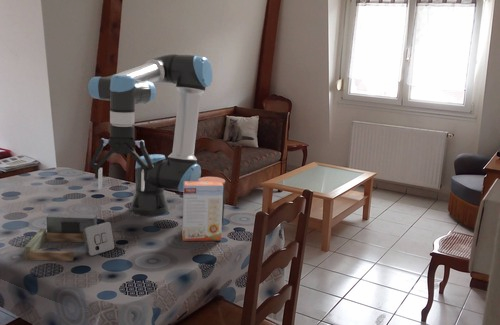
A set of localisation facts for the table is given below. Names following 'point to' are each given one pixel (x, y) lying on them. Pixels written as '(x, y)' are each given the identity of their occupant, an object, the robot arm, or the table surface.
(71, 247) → the table surface
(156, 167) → the robot arm
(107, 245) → the electrical switch
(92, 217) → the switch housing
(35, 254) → the bay
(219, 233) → the cracker box
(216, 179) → the coffee jar
